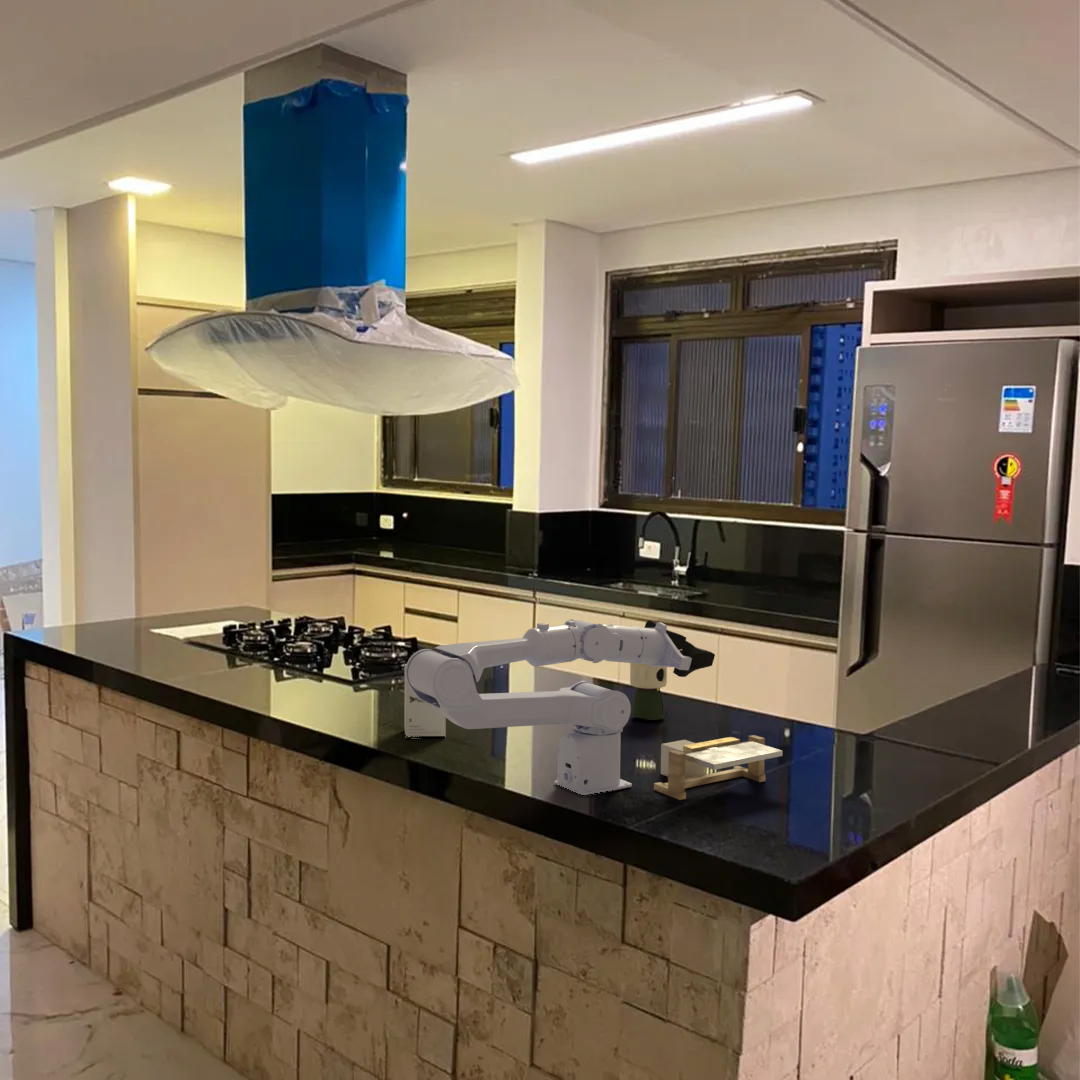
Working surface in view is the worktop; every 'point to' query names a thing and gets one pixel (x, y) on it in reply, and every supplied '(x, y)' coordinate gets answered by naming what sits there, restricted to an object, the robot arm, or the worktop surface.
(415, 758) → the worktop surface
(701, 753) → the trapdoor
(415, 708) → the supplement box
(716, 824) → the worktop surface
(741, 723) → the worktop surface
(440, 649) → the robot arm
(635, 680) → the character mug
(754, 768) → the frame
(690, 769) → the stone block
